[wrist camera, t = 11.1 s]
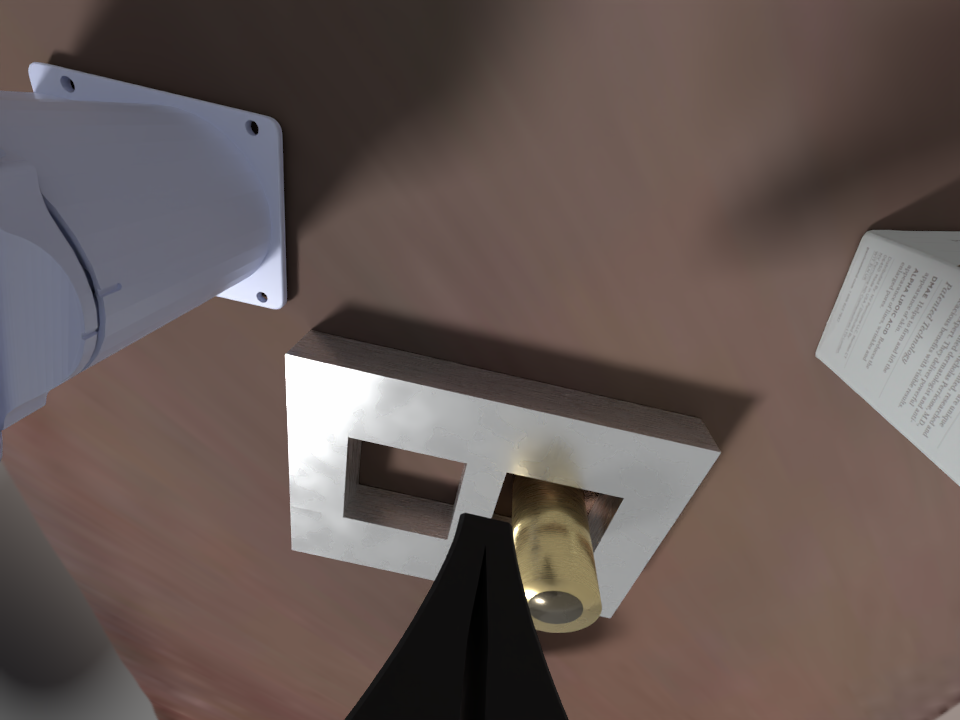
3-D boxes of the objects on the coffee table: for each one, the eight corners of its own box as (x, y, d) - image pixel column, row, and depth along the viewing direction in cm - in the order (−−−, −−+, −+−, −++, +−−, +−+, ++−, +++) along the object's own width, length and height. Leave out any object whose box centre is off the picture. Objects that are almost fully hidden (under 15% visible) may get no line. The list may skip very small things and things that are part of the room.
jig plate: (310, 516, 28) (291, 549, 26) (310, 329, 21) (285, 354, 19) (603, 580, 28) (610, 618, 26) (701, 418, 21) (721, 452, 19)
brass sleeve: (505, 502, 25) (499, 622, 19) (523, 454, 23) (523, 571, 17) (569, 517, 26) (583, 641, 19) (592, 470, 24) (616, 592, 17)
